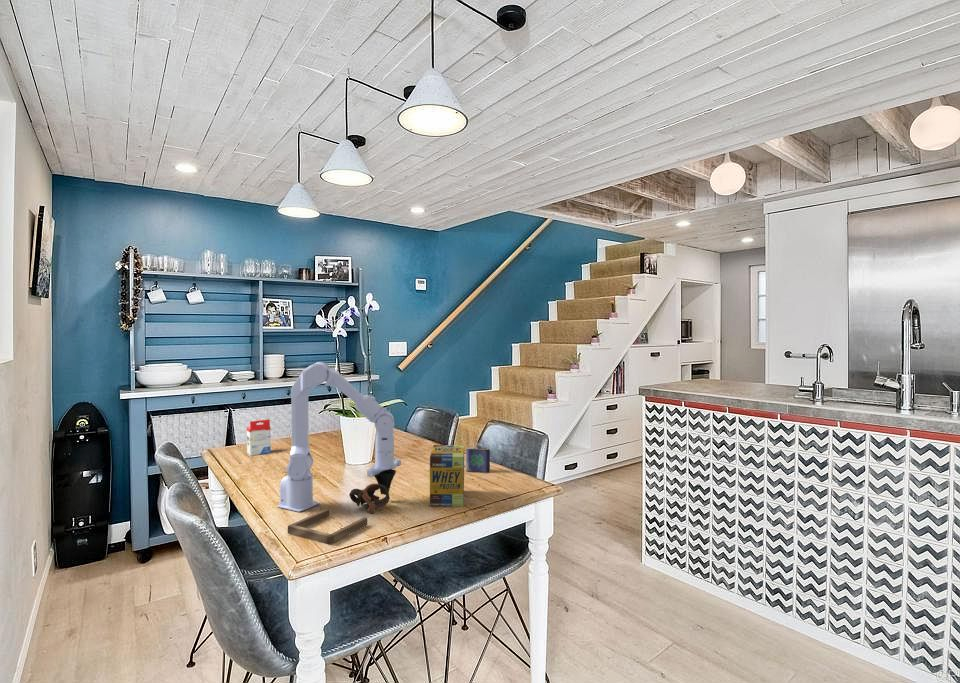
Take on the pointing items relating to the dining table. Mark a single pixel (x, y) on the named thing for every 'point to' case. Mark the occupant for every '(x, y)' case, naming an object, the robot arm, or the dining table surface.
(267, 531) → the dining table surface
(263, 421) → the ink box
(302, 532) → the walnut open-sided frame
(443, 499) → the protein box
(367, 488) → the dark brown curved piece
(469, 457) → the navy clover print box
